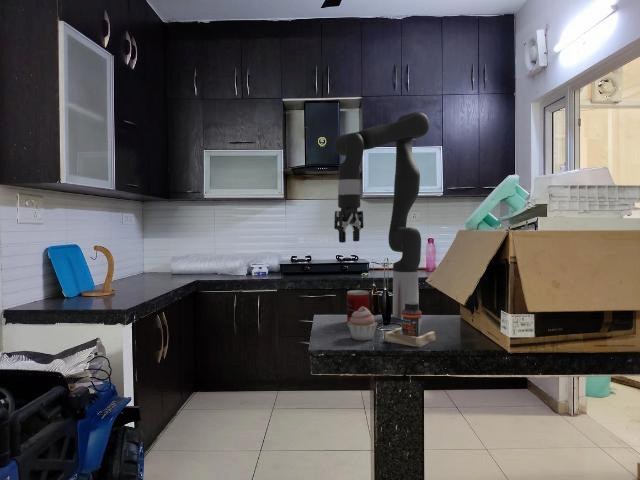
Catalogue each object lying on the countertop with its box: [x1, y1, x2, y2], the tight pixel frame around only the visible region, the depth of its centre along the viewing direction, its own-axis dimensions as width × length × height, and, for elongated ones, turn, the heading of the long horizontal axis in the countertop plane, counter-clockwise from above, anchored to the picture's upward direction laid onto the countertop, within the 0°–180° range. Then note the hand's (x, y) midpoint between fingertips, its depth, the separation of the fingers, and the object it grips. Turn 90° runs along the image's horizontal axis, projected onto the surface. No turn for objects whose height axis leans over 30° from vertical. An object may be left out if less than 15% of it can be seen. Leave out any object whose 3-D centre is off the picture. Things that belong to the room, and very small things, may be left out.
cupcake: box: [346, 306, 378, 342], centre depth 154 cm, size 9×9×10 cm
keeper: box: [384, 327, 436, 348], centre depth 151 cm, size 10×11×2 cm
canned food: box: [346, 289, 370, 323], centre depth 177 cm, size 8×8×11 cm
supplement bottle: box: [401, 302, 423, 337], centre depth 151 cm, size 6×6×11 cm
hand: (349, 241), depth 170 cm, fingers open, 8 cm apart
